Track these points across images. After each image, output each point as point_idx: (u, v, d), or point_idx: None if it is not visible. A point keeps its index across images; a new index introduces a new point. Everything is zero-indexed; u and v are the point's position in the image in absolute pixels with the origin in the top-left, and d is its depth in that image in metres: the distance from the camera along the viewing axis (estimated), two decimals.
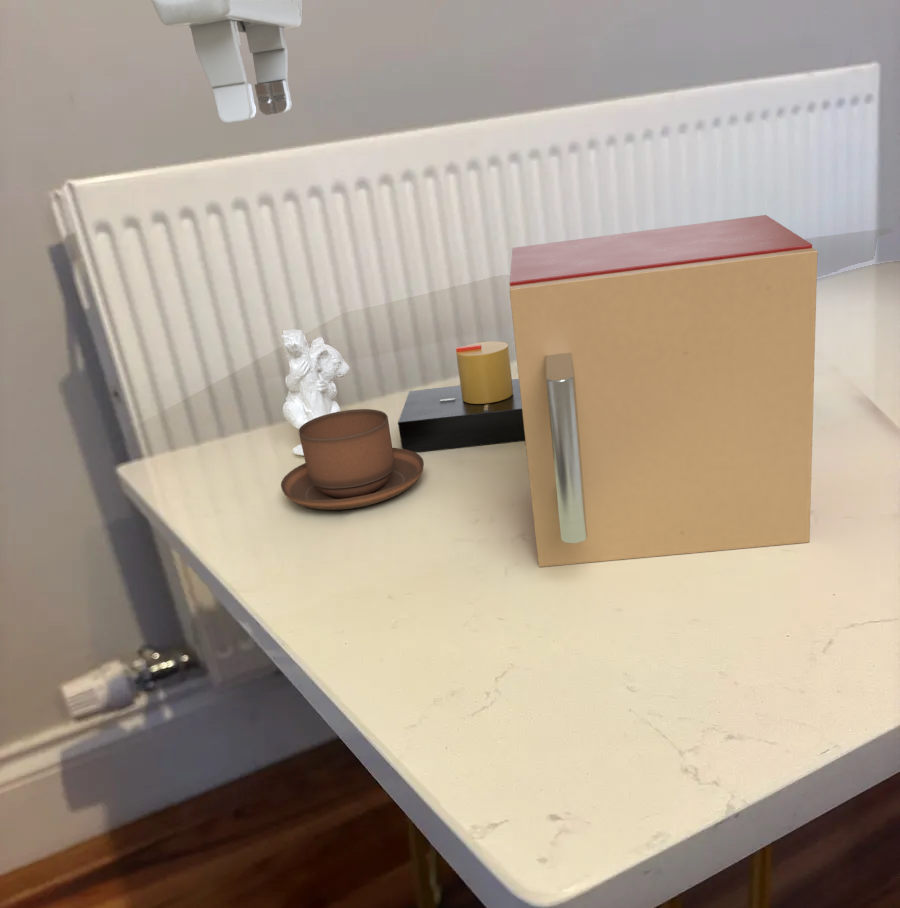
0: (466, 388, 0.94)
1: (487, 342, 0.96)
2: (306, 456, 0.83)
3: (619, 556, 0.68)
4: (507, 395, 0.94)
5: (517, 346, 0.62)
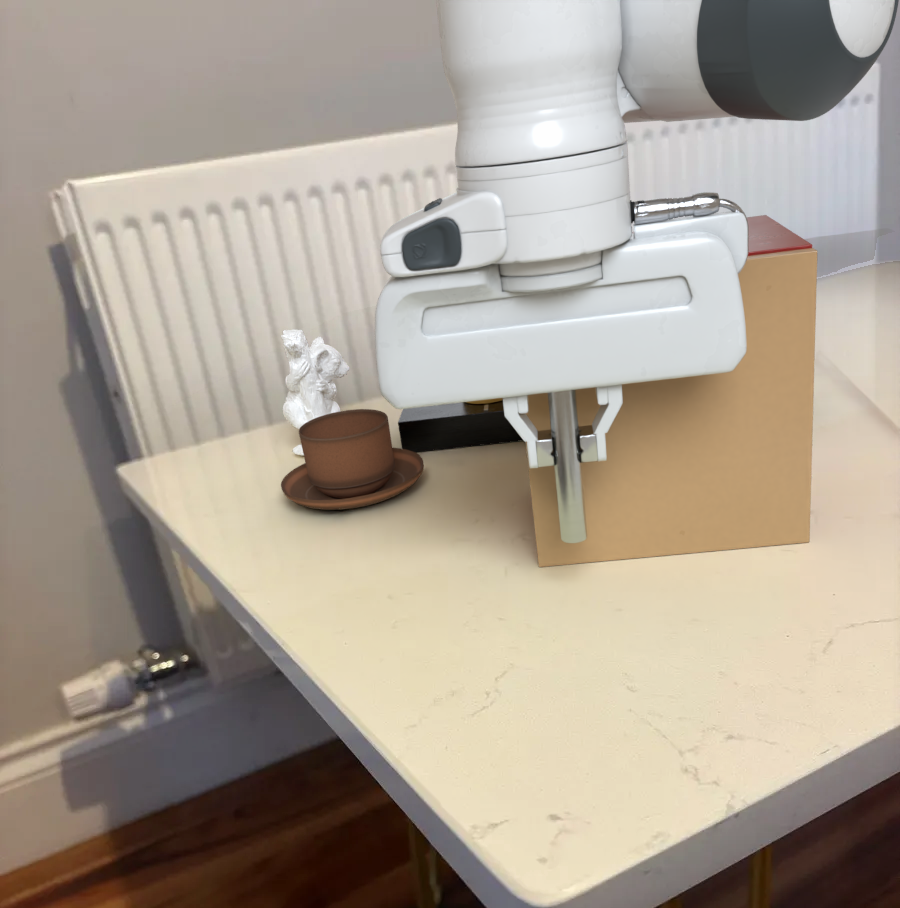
0: None
1: None
2: (306, 456, 0.83)
3: (619, 556, 0.68)
4: None
5: None
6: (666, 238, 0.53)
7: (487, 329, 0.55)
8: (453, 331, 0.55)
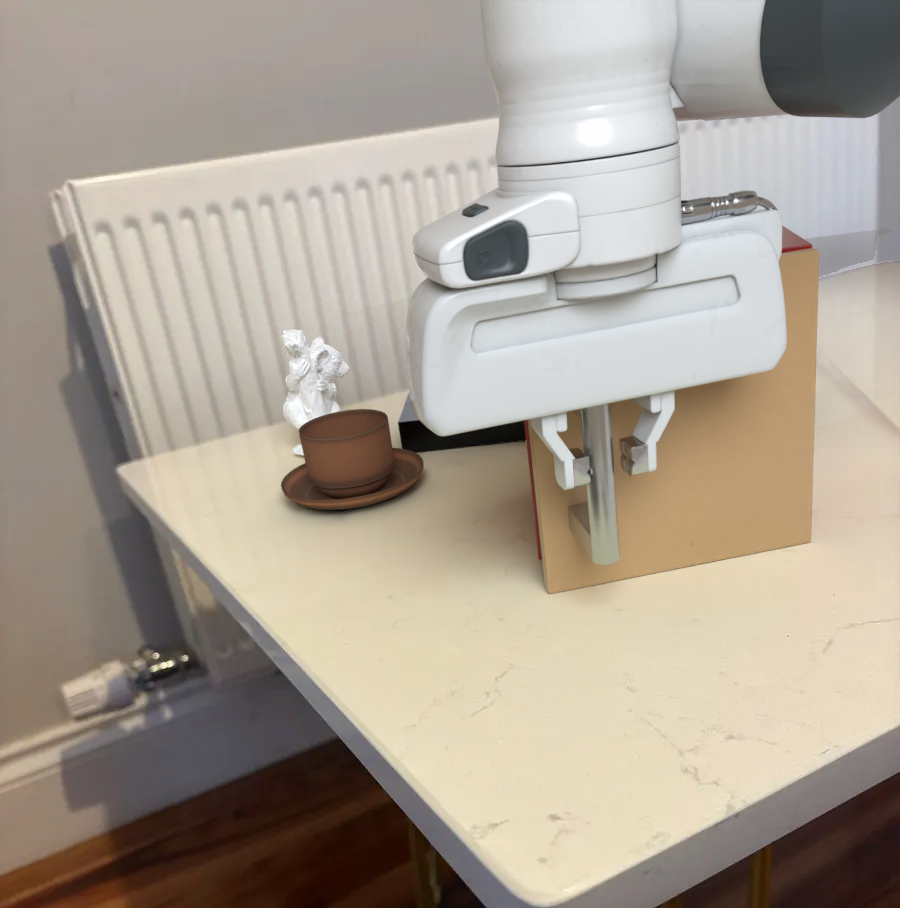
0: None
1: None
2: (306, 456, 0.83)
3: (630, 574, 0.65)
4: None
5: None
6: (716, 237, 0.51)
7: (540, 342, 0.51)
8: (504, 346, 0.51)
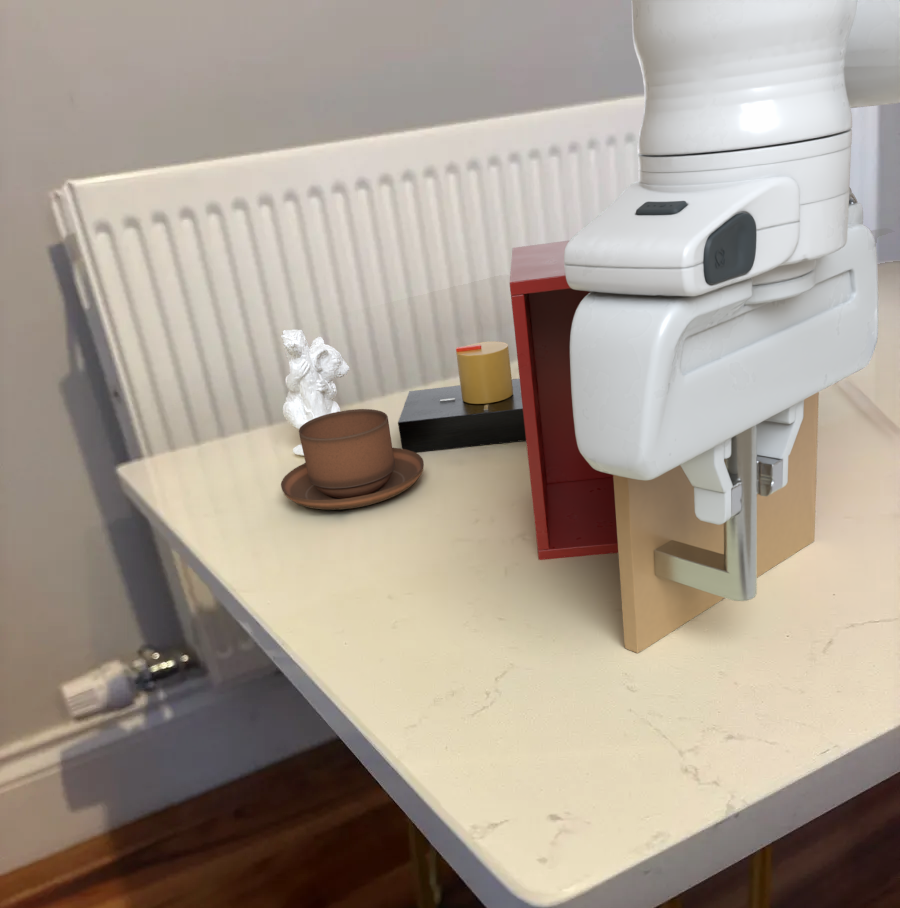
0: (466, 388, 0.94)
1: (487, 342, 0.96)
2: (306, 456, 0.83)
3: (697, 611, 0.60)
4: (507, 395, 0.94)
5: None
6: None
7: (729, 355, 0.44)
8: (701, 364, 0.43)
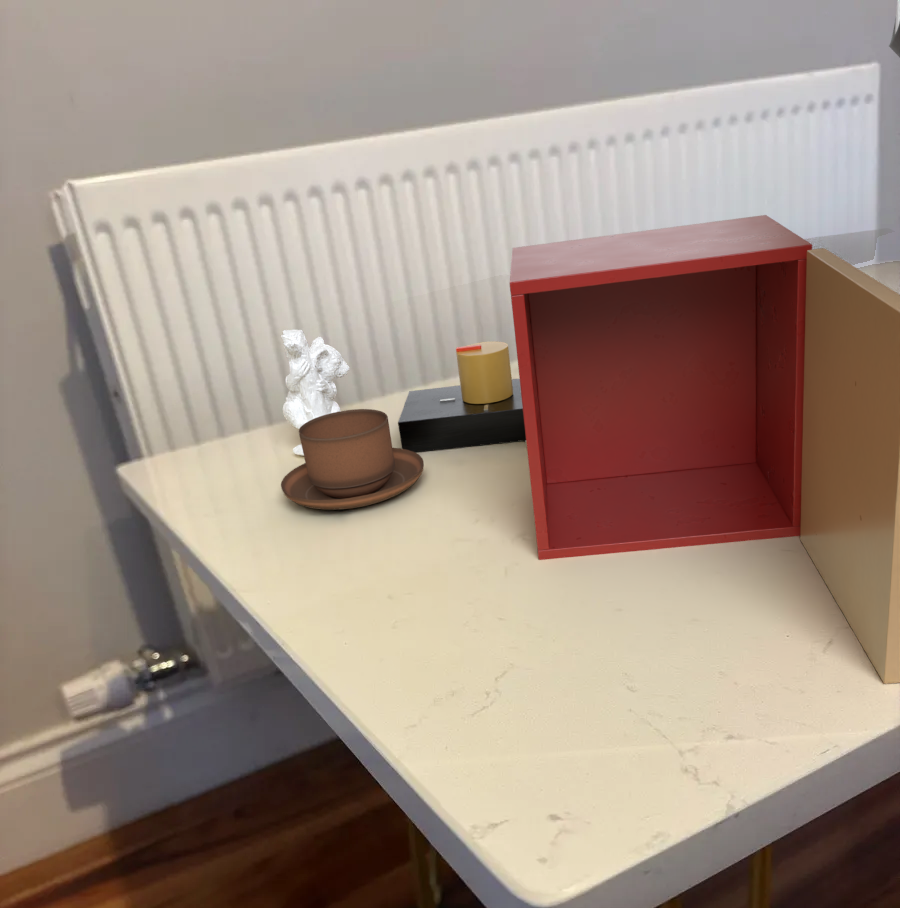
0: (466, 388, 0.94)
1: (487, 342, 0.96)
2: (306, 456, 0.83)
3: None
4: (507, 395, 0.94)
5: None
6: None
7: None
8: None
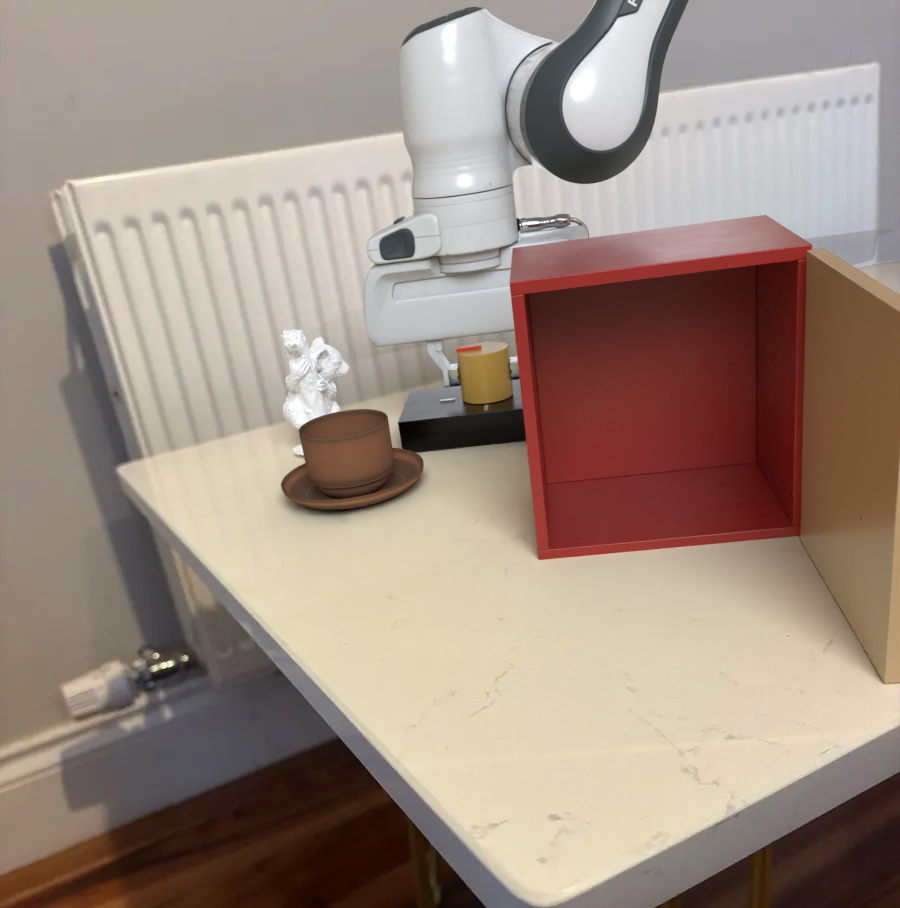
0: (466, 388, 0.94)
1: (487, 342, 0.96)
2: (306, 456, 0.83)
3: None
4: (507, 395, 0.94)
5: None
6: (538, 241, 0.88)
7: (432, 296, 0.90)
8: (411, 297, 0.91)
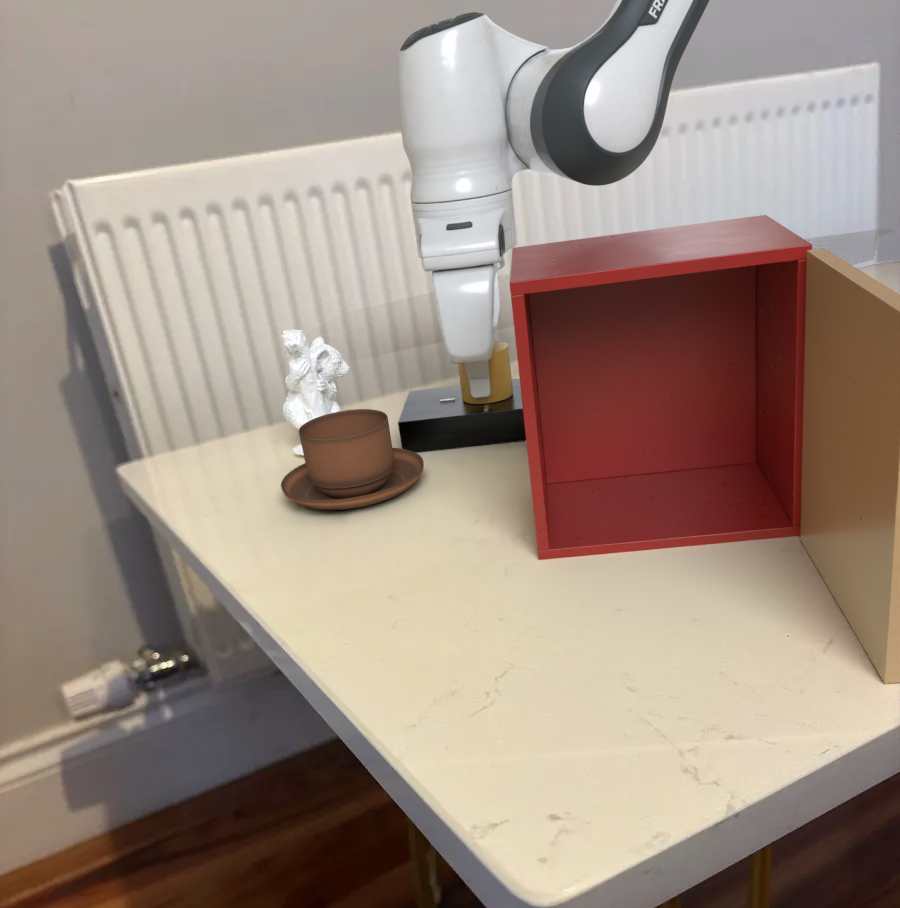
0: (503, 384, 0.94)
1: None
2: (306, 456, 0.83)
3: None
4: None
5: None
6: None
7: None
8: None
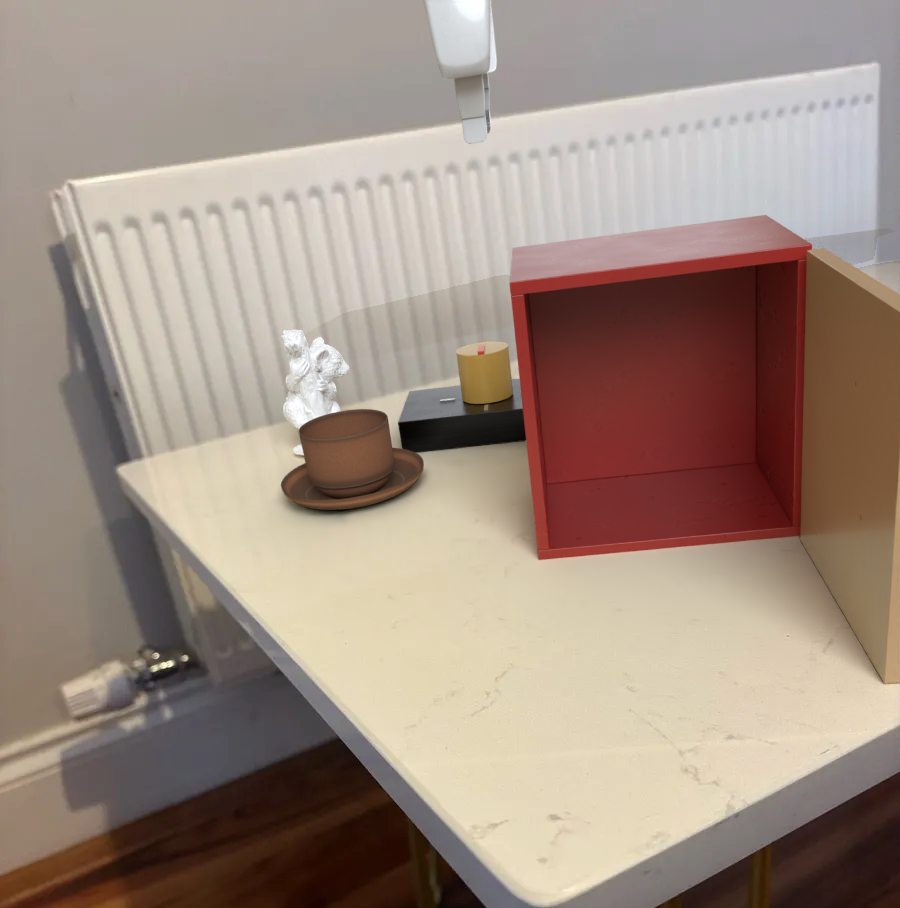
0: (503, 384, 0.94)
1: (460, 349, 0.95)
2: (306, 456, 0.83)
3: None
4: None
5: None
6: None
7: None
8: None
